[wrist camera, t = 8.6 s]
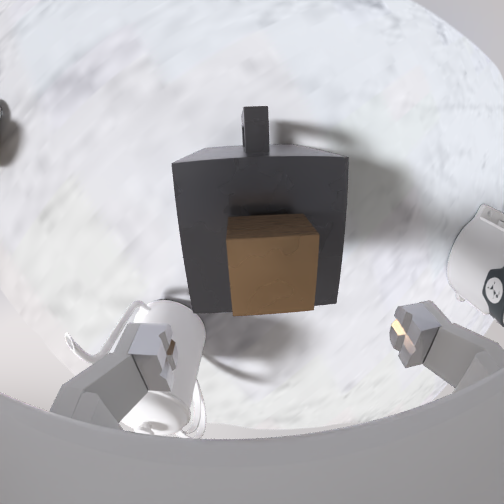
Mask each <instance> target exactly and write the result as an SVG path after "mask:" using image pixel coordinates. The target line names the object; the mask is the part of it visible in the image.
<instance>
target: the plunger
mask: <svg viewBox="0 0 504 504" xmlns="http://www.w3.org/2000/svg"><path fill="white" fill-rule="evenodd" d="M319 236H320V235H319V233H318V232H317V231H316V229H315V228H314V227H313V225H312V224H311V223H310V222H309V220H308V219H307V218H306V216H305V215H304V214H278V215H257V216H239V217H228V225H227V235H226V245H227V257H228V268H229V280H230V290H231V301H232V311H233V316H247V315H263V314H276V313H289V312H300V311H311V310H314V302H315V291H316V280H317V267H318V253H319Z"/></svg>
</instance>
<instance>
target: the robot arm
mask: <svg viewBox="0 0 504 504" xmlns="http://www.w3.org/2000/svg"><path fill="white" fill-rule="evenodd" d="M447 278H448V282H449V284H450V286H451V287H452V288H453V289H454V290H455V291H456V297H457V299H458V300H459V301H460V302H463V301H465V300H466V301H467V302H469V303H470V304H471V305H472V306H474V307H475V308H476V309H477V310H479V311H480V312H481V313H482V314H484V315H487V314H490V315H491V316H492V317H493V318H494V319H495V321H496V322H498V323H499V324H501V325H502V326H503V327H504V213H502V212H500V211H498V210H496V209H494V208H492V207H490V206H488V205H486V204H482V205H481V206H480V208H479V209H478V211H477V213H476V215H475V217H474V218H473V219H472V220H471V221H470V222H469V223H468V224H467V225H466V226H465V227H464V228H463V229H462V231H461V232H460V234H459V235H458V237H457V238H456V240H455V242H454V245H453V247H452V249H451V252H450V255H449V259H448V264H447ZM394 316H395V318H396V320H395V321H394V322H393V324H392V325H391V328H390V341H391V344H392V346H393V348H394V349H396V350H398V351H399V355H398V356H399V358H400V360H401V362H402V363H403V365H404V367H405V368H408V367H412V366H416V365H420V364H423V365H424V366H425V367H427V368H428V369H430V370H431V371H432V372H434V373H435V374H436V375H438V376H439V377H441V378H442V379H443V380H445V381H446V382H447V383H449V384H450V385H451V386H453V387H454V388H455V390H454V391H453V393H452V394H450V395H448V396H445V397H443V398H440V399H437V400H435V401H432V402H430V403H427V404H424V405H422V406H419V407H416V408H413V409H410V410H407V411H404V412H401V413H398V414H394V415H391V416H388V417H384V418H381V419H377V420H373V421H369V422H365V423H361V424H357V425H353V426H348V427H343V428H338V429H333V430H327V431H322V432H315V433H308V434H300V435H293V436H283V437H271V438H256V439H194V438H179V437H167V436H158V435H150V434H143V433H136V432H130V431H124V430H123V428H122V427H121V426H120V425H119V422H120V421H121V420H122V419H123V418H124V417H125V416H126V415H127V414H128V413H129V412H130V411H131V410H132V408H133V407H134V406H135V405H136V404H137V403H138V402H139V401H140V400H141V399H142V398H143V397H144V396H145V395H146V394H147V393H148V391H169V392H171V390H172V386H173V381H174V375H173V372H172V371H173V370H174V369H175V368H176V367H177V362H178V352H177V346H176V342H174V341H173V340H172V339H171V338H172V334H173V332H172V329H171V326H170V325H169V324H156V323H129V324H127V326H126V328H125V330H124V332H123V334H122V336H121V338H120V340H119V342H118V344H117V346H116V348H115V350H114V353H109V354H107V355H106V356H104V357H103V358H101V359H100V360H98V361H97V362H95V363H94V364H93V365H91V366H90V367H88V368H87V369H85V370H84V371H82V372H81V373H79V374H78V375H76V376H75V377H74V378H72V379H71V380H69V381H68V382H66V383H65V384H63V385H62V387H61V389H60V391H59V393H58V394H57V397H56V399H55V401H54V403H53V405H52V407H51V409H50V411H47V410H43V409H41V408H38V407H35V406H32V405H30V404H27V403H25V402H22V401H20V400H18V399H15V398H13V397H11V396H8V395H6V394H4V393H2V392H0V504H504V350H503V349H502V347H501V346H500V345H499V344H498V343H497V342H494V341H492V340H490V339H488V338H486V337H484V336H482V335H480V334H477V333H475V332H473V331H471V330H469V329H467V328H464V327H462V326H460V325H458V324H456V323H453V324H452V323H451V322H450V321H449V320H448V318H447V317H446V316H445V315H444V314H443V313H442V312H441V310H440V309H439V308H438V307H437V306H436V305H435V304H434V303H433V302H432V301H430V300H428V301H424V302H419V303H415V304H410V305H404V306H398V308H397V309H396V311H395V314H394Z"/></svg>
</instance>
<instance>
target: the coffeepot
mask: <svg viewBox="0 0 504 504" xmlns="http://www.w3.org/2000/svg"><path fill="white" fill-rule="evenodd" d="M137 307H140V308H141V309H140V310H139V311H138V312H137V314H136V316H135V319H134V322H133V323H156V324H169V325H170V326H171V329H172V332H173V334H172V338H171V339H172V340H173V341H174V342H176V346H177V352H178V362H177V367H176V368H175V369H174V370H173V371H172V372H173V375H174V381H173V386H172V390H171V392H169V391H148V393H147V394H146V395H145V396H144V397H143V398H142V399H141V400H140V401H139V402H138V403H137V404H136V405H135V406H134V407H133V408H132V410H131V411H130V412H129V413H128V414H127V415H126V416H125V417H124V418H123V419H122V420H121V421H122V422H123V423H124V424H126V425H127V426H129V427H131V428H133V429H135V430H134V432H136V433H143V434H150V435H158V436H167V435H172V434H176V435H177V436H179V437H180V438H191V437H189V436H187V435H186V434H188V433H192V432H194V431H195V430H196V429H197V428H198V430H197V433H196V435H195V436H194V437H193V438H194V439H200V438H201V437H202V436H203V434H204V432H205V428H206V411H205V404H204V399H203V395H202V392H201V389H200V386H199V383H198V380H197V374H198V370H199V365H200V361H201V357H202V352H203V348H204V344H205V339H206V331H205V327H204V324H203V322H202V320H201V319H200V317H199V316H198V315H197V314H196V313H193V310H191V309H190V308H188V307H187V306H185V305H183V304H180V303H178V302H174V301H169V300H157V301H153V302H150V303H148V304H145V303H144V302H142V301H139V300H138V301H134V302H132V303H131V304H130V305H129V307H128V308H127V309H126V311H125V312H124V314H123V315H122V317H121V318H120V320H119V321H118V323H117V324H116V326H115V327H114V329H113V331H112V332H111V334H110V335H109V337H108V338H107V340H106V342H105V343H104V345H103V346H102V348H101V349H100V351H99V352H98V353H97V354H96V355H90V354H88V353H86V352H85V351H84V350H83V349H82V348H81V347H80V346H79V345H78V344H77V343H76V342H75V341H74V340H73V339H72V337H71V336H70V335H69V334H68V333H65V340H66V343H67V345H68V346H69V348H70V349H71V350H72V351H73V352H74V353H75V354H76V355H77V356H78V357H79V358H80V359H81V360H83V361H84V362H86V363H89V364H94V363H95V362H97V361H98V360H100V359H101V358H103V357H104V356H106V355H107V354H108V353H109V351H110V350H111V348H112V346H113V344H114V343H115V341H116V339H117V338H118V336H119V334H120V333H121V331H122V329H123V328H124V326H125V324H126V323H127V321H128V319H129V318H130V316H131V315H132V313H133V312H134V310H135V309H136V308H137ZM192 397H193V401H194V414H193V420H192V424H191V426H190V428H189V429H188V430H187V431H186V432H184V431H183V430H181V429H182V428H183V427H184V426H185V425H187V423H189V421H190V416H191V412H190V406H191V401H192Z"/></svg>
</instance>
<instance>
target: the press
mask: <svg viewBox="0 0 504 504" xmlns="http://www.w3.org/2000/svg"><path fill="white" fill-rule="evenodd" d="M242 137H243V146H226V147H213V148H204V149H202V150H199V151H197V152H195V153H193V154H191V155H188V156H186V157H184V158H182V159H180V160H178V161H176V162H173V163H172V172H173V182H174V191H175V200H176V208H177V216H178V224H179V231H180V238H181V245H182V252H183V258H184V265H185V271H186V277H187V282H188V288H189V294H190V299H191V305H192V310H193V313H220V312H233V311H232V301H231V290H230V280H229V268H228V257H227V245H226V235H227V225H228V217H239V216H257V215H278V214H304V215H305V216H306V218H307V219H308V220H309V222H310V223H311V224H312V225H313V227H314V228H315V229H316V231H317V232H318V233H319V235H320V236H319V253H318V267H317V280H316V291H315V302H314V306H317V305H327V304H336V302H337V295H338V288H339V281H340V272H341V264H342V255H343V245H344V234H345V221H346V207H347V189H348V159H349V157H346V156H342V155H338V154H334V153H330V152H326V151H322V150H318V149H313V148H309V147H304V146H300V145H295V144H273V145H269V121H268V106H254V107H244V108H243V112H242Z"/></svg>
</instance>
